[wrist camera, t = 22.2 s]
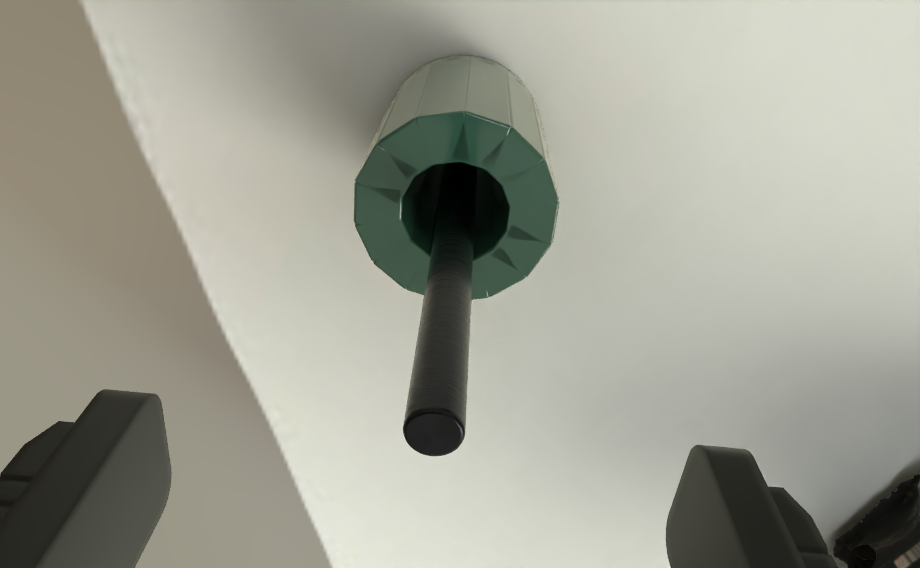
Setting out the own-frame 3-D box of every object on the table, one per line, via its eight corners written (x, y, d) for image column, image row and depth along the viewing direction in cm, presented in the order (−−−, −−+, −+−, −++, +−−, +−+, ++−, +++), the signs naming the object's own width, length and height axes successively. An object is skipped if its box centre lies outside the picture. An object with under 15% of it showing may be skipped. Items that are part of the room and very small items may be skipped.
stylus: (448, 153, 25) (401, 455, 11) (450, 125, 24) (404, 407, 11) (476, 156, 25) (461, 461, 12) (479, 128, 24) (468, 413, 11)
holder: (384, 198, 26) (351, 293, 20) (390, 44, 23) (355, 100, 17) (528, 212, 26) (540, 311, 20) (551, 61, 24) (573, 122, 17)
